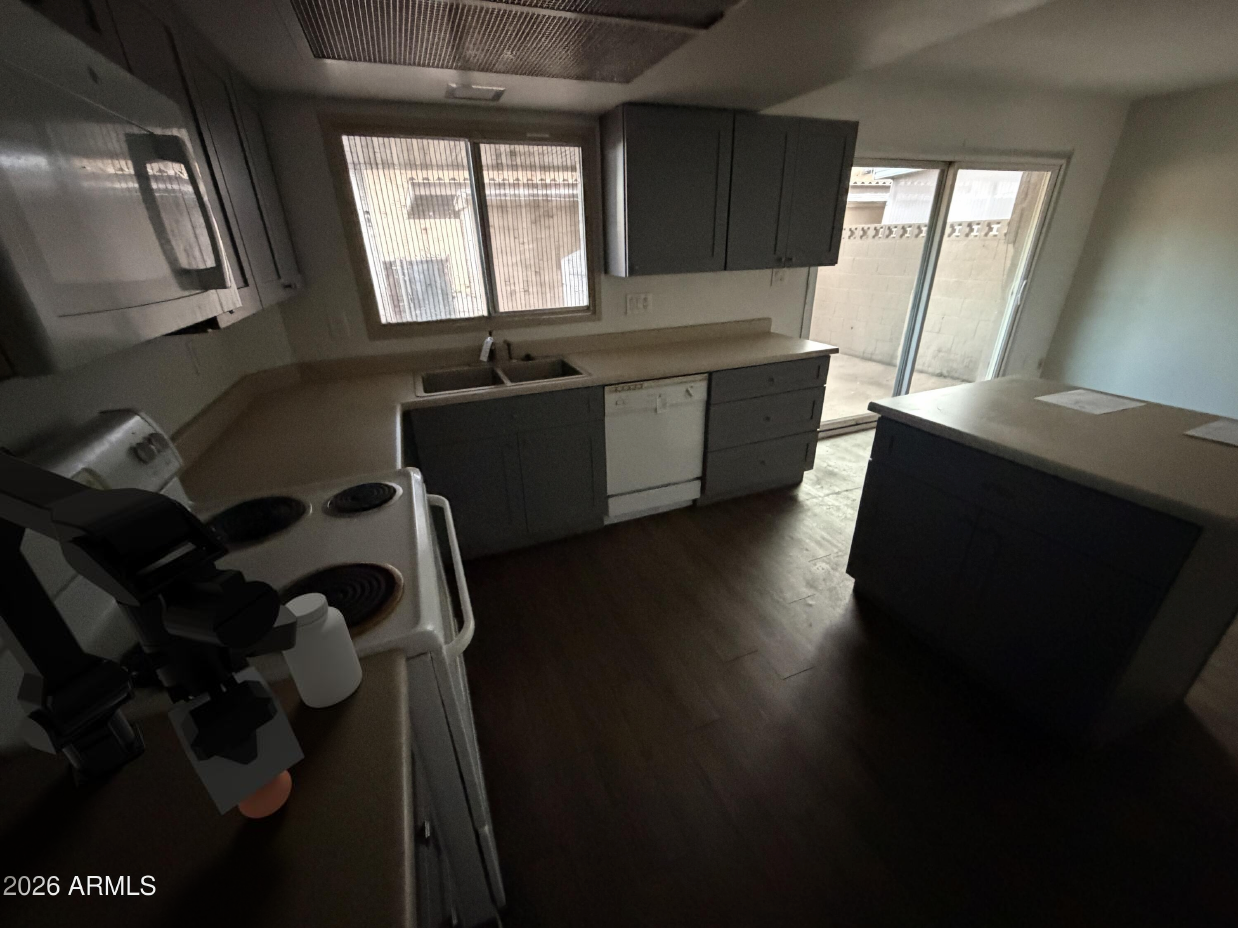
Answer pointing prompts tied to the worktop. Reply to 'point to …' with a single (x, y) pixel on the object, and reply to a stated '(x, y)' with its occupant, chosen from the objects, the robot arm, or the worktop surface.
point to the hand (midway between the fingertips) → (238, 739)
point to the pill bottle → (322, 653)
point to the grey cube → (233, 778)
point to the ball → (267, 797)
